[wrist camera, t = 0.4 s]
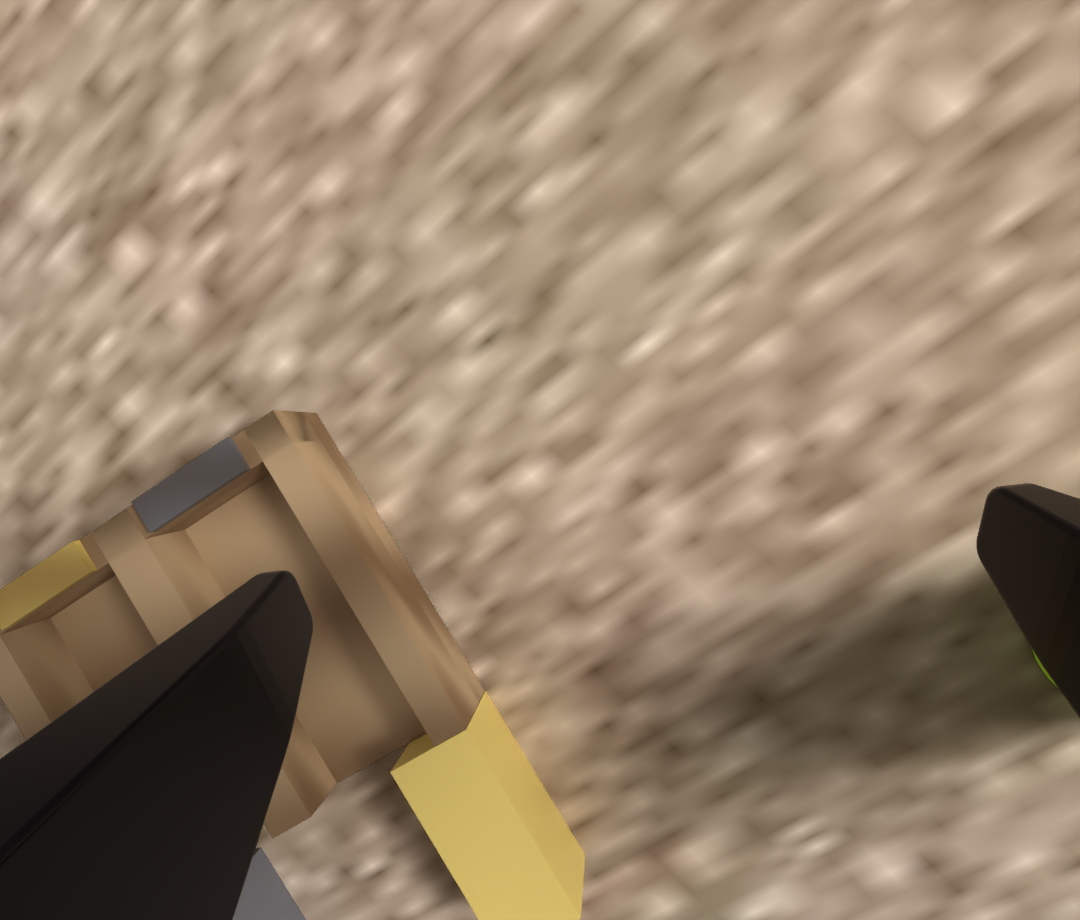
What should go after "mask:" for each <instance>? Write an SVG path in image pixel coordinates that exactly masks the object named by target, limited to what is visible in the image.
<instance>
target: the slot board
mask: <svg viewBox="0 0 1080 920" xmlns="http://www.w3.org/2000/svg"><path fill="white" fill-rule="evenodd" d="M132 504H133V505H131V506H130V507H128V508H127V509H125V510H124V511H122V512H121V513H119V514H118V515H116V516H115V517H113V518H112V519H110V520H109V521H107V522H106V523H104V524H103V525H101V526H100V527H98V528H97V529H95V530H94V531H92V532H91V533H89V534H88V535H86V536H85V537H83V538H82V539H80V540H77V541H73V542H71V543H69V544H68V545H66V546H65V547H63V548H62V549H60V550H59V551H57V552H56V553H54V554H53V555H51V556H50V557H48V558H47V559H45V560H44V561H42V562H41V563H39V564H38V565H36V566H35V567H33V568H32V569H30V570H29V571H27V572H26V573H24V574H23V575H22V576H20V577H19V578H17V579H16V580H14V581H13V582H11V583H10V584H8V585H7V586H5V587H4V588H2V589H1V590H0V697H1V698H2V700H3V702H4V703H5V705H6V707H7V708H8V710H9V712H10V714H11V715H12V717H13V719H14V720H15V722H16V724H17V725H18V727H19V729H20V731H21V732H22V734H23V736H24V737H25V739H26V740H27V739H29V738H30V737H31V736H33V735H34V734H36V733H37V732H38V731H40V730H41V729H43V728H44V727H45V726H47V725H48V724H49V723H51V722H52V721H54V720H55V719H56V718H58V717H59V716H61V715H62V714H63V713H65V712H66V711H68V710H69V709H70V708H72V707H73V706H75V705H76V704H77V703H79V702H80V701H81V700H83V699H84V698H86V697H87V696H88V695H90V694H91V693H93V692H94V691H95V690H97V689H98V688H100V687H101V686H102V685H104V684H105V683H106V682H108V681H109V680H111V679H112V678H113V677H115V676H116V675H118V674H119V673H120V672H122V671H123V670H125V669H126V668H127V667H129V666H130V665H131V664H133V663H134V662H136V661H137V660H138V659H140V658H141V657H143V656H144V655H145V654H147V653H148V652H150V651H151V650H152V649H154V648H155V647H156V646H158V645H159V644H161V643H162V642H163V641H165V640H166V639H168V638H169V637H170V636H172V635H173V634H175V633H176V632H177V631H179V630H180V629H182V628H183V627H184V626H186V625H187V624H188V623H190V622H191V621H193V620H194V619H195V618H197V617H198V616H200V615H201V614H202V613H204V612H205V611H207V610H208V609H209V608H211V607H212V606H213V605H215V604H216V603H218V602H219V601H220V600H222V599H223V598H225V597H226V596H227V595H229V594H230V593H232V592H233V591H234V590H236V589H237V588H238V587H240V586H241V585H243V584H244V583H245V582H247V581H248V580H250V579H251V578H252V577H254V576H255V575H257V574H259V573H264V572H272V571H281V570H287V571H289V572H291V573H292V574H293V575H294V576H295V578H296V580H297V582H298V585H299V587H300V589H301V591H302V594H303V596H304V598H305V601H306V603H307V605H308V607H309V610H310V612H311V615H312V619H313V634H312V639H311V644H310V649H309V653H308V658H307V663H306V668H305V673H304V678H303V683H302V688H301V692H300V697H299V702H298V707H297V712H296V717H295V721H294V725H293V730H292V734H291V738H290V741H289V745H288V748H287V751H286V755H285V758H284V761H283V764H282V767H281V770H280V774H279V777H278V780H277V783H276V786H275V789H274V792H273V795H272V799H271V802H270V805H269V808H268V811H267V814H266V817H265V820H264V824H263V825H265V826H266V828H267V830H268V831H269V833H270V835H271V836H272V838H274V837H276V836H278V835H279V834H281V833H283V832H285V831H287V830H288V829H290V828H292V827H294V826H295V825H297V824H299V823H301V822H302V821H304V820H306V819H308V818H309V817H311V816H312V815H313V813H314V812H315V811H316V809H317V808H318V807H319V806H320V804H321V803H322V802H323V801H324V799H325V798H326V797H327V795H328V794H329V793H330V792H331V790H332V789H333V788H334V786H335V785H336V784H337V783H338V782H340V781H342V780H344V779H345V778H347V777H349V776H351V775H352V774H354V773H356V772H358V771H359V770H361V769H363V768H365V767H366V766H368V765H370V764H372V763H373V762H375V761H377V760H379V759H380V758H382V757H384V756H386V755H387V754H389V753H391V752H393V751H394V750H396V749H398V748H400V747H401V746H403V745H405V744H407V743H408V742H410V741H412V740H414V739H415V738H417V737H419V736H421V735H422V734H424V733H426V732H427V734H428V736H429V737H430V739H431V741H432V742H433V744H434V746H437V745H438V744H440V743H442V742H444V741H445V740H447V739H449V738H451V737H452V736H454V735H456V734H458V733H459V732H461V731H463V730H465V729H466V727H467V725H468V723H469V721H470V719H471V717H472V715H473V713H474V711H475V709H476V707H477V705H478V703H479V701H480V699H481V697H482V695H483V693H484V691H485V690H484V689H483V687H482V685H481V684H480V682H479V680H478V679H477V677H476V675H475V674H474V672H473V671H472V669H471V667H470V666H469V664H468V662H467V661H466V659H465V657H464V656H463V654H462V652H461V651H460V649H459V647H458V646H457V644H456V642H455V641H454V639H453V638H452V636H451V634H450V633H449V631H448V629H447V628H446V626H445V624H444V623H443V621H442V619H441V618H440V616H439V614H438V613H437V611H436V610H435V608H434V606H433V605H432V603H431V601H430V600H429V598H428V596H427V595H426V593H425V591H424V590H423V588H422V586H421V585H420V583H419V582H418V580H417V578H416V577H415V575H414V573H413V572H412V570H411V568H410V567H409V565H408V563H407V562H406V560H405V558H404V557H403V555H402V554H401V552H400V550H399V549H398V547H397V545H396V544H395V542H394V540H393V539H392V537H391V535H390V534H389V532H388V530H387V529H386V527H385V526H384V524H383V522H382V521H381V519H380V517H379V516H378V514H377V512H376V511H375V509H374V507H373V506H372V504H371V502H370V501H369V499H368V498H367V496H366V494H365V493H364V491H363V489H362V488H361V486H360V484H359V483H358V481H357V479H356V478H355V476H354V474H353V473H352V471H351V470H350V468H349V466H348V465H347V463H346V461H345V460H344V458H343V456H342V455H341V453H340V451H339V450H338V448H337V446H336V445H335V443H334V442H333V440H332V438H331V437H330V435H329V433H328V432H327V430H326V428H325V427H324V425H323V423H322V422H321V420H320V418H319V417H318V415H317V413H307V412H291V411H274V410H273V411H271V412H270V413H268V414H267V415H265V416H264V417H262V418H261V419H259V420H258V421H256V422H255V423H253V424H252V425H250V426H249V427H248V428H246V429H245V430H243V431H242V432H240V433H239V434H237V435H236V436H234V437H233V438H226V439H224V440H223V441H221V442H220V443H218V444H217V445H215V446H214V447H212V448H211V449H209V450H208V451H206V452H205V453H203V454H202V455H200V456H199V457H197V458H196V459H194V460H193V461H191V462H190V463H188V464H187V465H185V466H184V467H182V468H181V469H179V470H178V471H176V472H175V473H174V474H172V475H171V476H169V477H168V478H166V479H165V480H163V481H162V482H160V483H159V484H157V485H156V486H154V487H153V488H151V489H150V490H148V491H147V492H145V493H144V494H142V495H141V496H139V497H138V498H136V499H135V500H133V501H132Z"/></svg>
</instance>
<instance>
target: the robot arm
mask: <svg viewBox="0 0 1080 920" xmlns="http://www.w3.org/2000/svg"><path fill="white" fill-rule="evenodd" d="M977 552H978V555H979V558H980V560H981V562H982V564H983V566H984V568H985V569H986V571H987V573H988V574H989V576H990V578H991V580H992V581H993V583H994V585H995V586H996V588H997V590H998V592H999V593H1000V595H1001V597H1002V598H1003V600H1004V602H1005V604H1006V605H1007V607H1008V609H1009V610H1010V612H1011V614H1012V616H1013V617H1014V619H1015V621H1016V622H1017V624H1018V626H1019V628H1020V629H1021V631H1022V633H1023V634H1024V636H1025V638H1026V640H1027V641H1028V643H1029V645H1030V647H1031V648H1032V650H1033V651H1034V653H1035V655H1036V656H1037V658H1038V659H1039V661H1040V662H1041V664H1042V666H1043V667H1044V669H1045V670H1046V672H1047V673H1048V674H1049V676H1050V677H1051V679H1052V680H1053V682H1054V683H1055V684H1056V686H1057V687H1058V689H1059V690H1060V691H1061V693H1062V694H1063V695H1064V697H1065V698H1066V700H1067V701H1068V702H1069V704H1070V705H1071V706H1072V708H1073V709H1074V710H1075V712H1076V713H1077V715H1078V716H1079V717H1080V499H1079V498H1075V497H1072V496H1069V495H1066V494H1063V493H1060V492H1057V491H1054V490H1051V489H1048V488H1044V487H1041V486H1038V485H1035V484H1028V483H1025V484H1016V485H1008V486H999V487H996V488H994V489H992V490H991V491H990V493H989V494H988V496H987V498H986V502H985V506H984V511H983V515H982V519H981V523H980V528H979V532H978V536H977ZM312 634H313V619H312V615H311V612H310V610H309V607H308V605H307V603H306V601H305V598H304V596H303V594H302V591H301V589H300V587H299V585H298V582H297V580H296V578H295V576H294V575H293V574H292V573H291V572H289V571H287V570H281V571H272V572H264V573H259V574H257V575H255V576H254V577H252V578H251V579H250V580H248V581H247V582H245V583H244V584H243V585H241V586H240V587H238V588H237V589H236V590H234V591H233V592H232V593H230V594H229V595H227V596H226V597H225V598H223V599H222V600H220V601H219V602H218V603H216V604H215V605H213V606H212V607H211V608H209V609H208V610H207V611H205V612H204V613H202V614H201V615H200V616H198V617H197V618H195V619H194V620H193V621H191V622H190V623H188V624H187V625H186V626H184V627H183V628H182V629H180V630H179V631H177V632H176V633H175V634H173V635H172V636H170V637H169V638H168V639H166V640H165V641H163V642H162V643H161V644H159V645H158V646H156V647H155V648H154V649H152V650H151V651H150V652H148V653H147V654H145V655H144V656H143V657H141V658H140V659H138V660H137V661H136V662H134V663H133V664H131V665H130V666H129V667H127V668H126V669H125V670H123V671H122V672H120V673H119V674H118V675H116V676H115V677H113V678H112V679H111V680H109V681H108V682H106V683H105V684H104V685H102V686H101V687H100V688H98V689H97V690H95V691H94V692H93V693H91V694H90V695H88V696H87V697H86V698H84V699H83V700H81V701H80V702H79V703H77V704H76V705H75V706H73V707H72V708H70V709H69V710H68V711H66V712H65V713H63V714H62V715H61V716H59V717H58V718H56V719H55V720H54V721H52V722H51V723H49V724H48V725H47V726H45V727H44V728H43V729H41V730H40V731H38V732H37V733H36V734H34V735H33V736H31V737H30V738H29V739H27V740H26V741H24V742H23V743H22V744H20V745H19V746H18V747H16V748H15V749H13V750H12V751H11V752H9V753H8V754H6V755H5V756H4V757H2V758H1V759H0V920H233V917H234V914H235V911H236V908H237V905H238V902H239V899H240V895H241V892H242V889H243V886H244V883H245V880H246V877H247V874H248V870H249V867H250V864H251V861H252V858H253V855H254V852H255V849H256V845H257V842H258V839H259V836H260V833H261V830H262V827H263V824H264V820H265V817H266V814H267V811H268V808H269V805H270V802H271V799H272V795H273V792H274V789H275V786H276V783H277V780H278V777H279V774H280V770H281V767H282V764H283V761H284V758H285V755H286V751H287V748H288V745H289V741H290V738H291V734H292V730H293V725H294V721H295V717H296V712H297V707H298V702H299V697H300V692H301V688H302V683H303V678H304V673H305V668H306V663H307V658H308V653H309V649H310V644H311V639H312Z"/></svg>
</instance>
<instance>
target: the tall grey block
mask: <svg viewBox="0 0 1080 920" xmlns="http://www.w3.org/2000/svg"><path fill="white" fill-rule="evenodd" d="M233 920H306V919H305V918H304V916H303V915H302V913H301V911H300V910H299V908H298V906H297V905H296V903H295V902H294V900H293V898H292V897H291V895H290V893H289V892H288V890H287V889H286V887H285V885H284V884H283V882H282V881H281V879H280V877H279V876H278V874H277V872H276V871H275V869H274V868H273V866H272V864H271V863H270V861H269V859H268V858H267V856H266V855H265V853H264V851H263V850H262V848H259V849H257V850H256V851H255V852H254V855H253V858H252V861H251V864H250V867H249V870H248V874H247V877H246V880H245V883H244V886H243V889H242V892H241V895H240V899H239V902H238V905H237V908H236V911H235V914H234V917H233Z"/></svg>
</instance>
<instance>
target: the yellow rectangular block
mask: <svg viewBox="0 0 1080 920" xmlns="http://www.w3.org/2000/svg"><path fill="white" fill-rule="evenodd" d="M390 773H391V774H392V776H393V778H394V779H395V781H396V783H397V784H398V786H399V788H400V789H401V791H402V793H403V794H404V796H405V798H406V799H407V801H408V803H409V804H410V806H411V808H412V809H413V811H414V813H415V814H416V816H417V818H418V819H419V821H420V823H421V824H422V826H423V828H424V829H425V831H426V833H427V834H428V836H429V838H430V839H431V841H432V843H433V844H434V846H435V848H436V849H437V851H438V853H439V854H440V856H441V858H442V859H443V861H444V863H445V864H446V866H447V868H448V869H449V871H450V873H451V874H452V876H453V878H454V879H455V881H456V883H457V884H458V886H459V888H460V889H461V891H462V893H463V894H464V896H465V898H466V899H467V901H468V903H469V904H470V906H471V908H472V909H473V911H474V913H475V914H476V916H477V918H478V919H479V920H579V919H581V908H582V893H583V878H584V863H585V854H584V853H583V851H582V849H581V848H580V846H579V844H578V843H577V841H576V839H575V838H574V836H573V834H572V833H571V831H570V829H569V828H568V826H567V824H566V823H565V821H564V820H563V818H562V816H561V815H560V813H559V811H558V810H557V808H556V806H555V805H554V803H553V801H552V800H551V798H550V796H549V795H548V793H547V791H546V790H545V788H544V787H543V785H542V783H541V782H540V780H539V778H538V777H537V775H536V773H535V772H534V770H533V768H532V767H531V765H530V763H529V762H528V760H527V759H526V757H525V755H524V754H523V752H522V750H521V749H520V747H519V745H518V744H517V742H516V740H515V739H514V737H513V735H512V734H511V732H510V730H509V729H508V727H507V726H506V724H505V722H504V721H503V719H502V717H501V716H500V714H499V712H498V711H497V709H496V707H495V706H494V704H493V702H492V701H491V699H490V697H489V696H488V694H487V693H486V691H484V693H483V695H482V697H481V699H480V701H479V703H478V705H477V707H476V709H475V711H474V713H473V715H472V717H471V719H470V721H469V723H468V725H467V727H466V729H465V730H463V731H461V732H459V733H458V734H456V735H454V736H452V737H451V738H449V739H447V740H445V741H444V742H442V743H440V744H438V745H437V746H434V744H433V742H432V741H431V739H430V737H429V736H428V734H427V732H426V733H424V734H422V735H421V736H419V737H417V738H415V739H414V740H412V741H410V743H409V744H408V746H407V747H406V749H405V750H404V752H403V753H402V755H401V756H400V758H399V760H398V761H397V763H396V764H395V766H394V767H393V769H392V770H391V772H390Z"/></svg>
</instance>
